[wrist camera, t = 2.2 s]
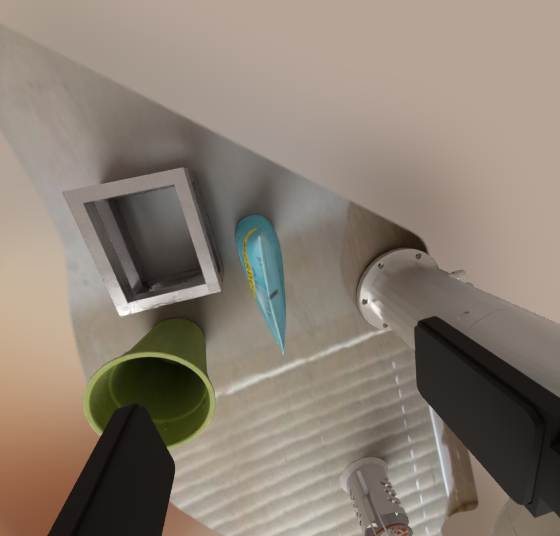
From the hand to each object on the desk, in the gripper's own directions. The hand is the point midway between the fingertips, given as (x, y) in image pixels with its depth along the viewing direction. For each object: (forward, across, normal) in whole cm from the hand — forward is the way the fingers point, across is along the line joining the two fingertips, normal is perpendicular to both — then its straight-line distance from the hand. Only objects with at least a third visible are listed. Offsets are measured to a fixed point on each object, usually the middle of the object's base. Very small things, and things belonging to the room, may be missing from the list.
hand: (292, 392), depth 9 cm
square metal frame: (+25, +10, -3) cm, 27 cm away
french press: (+26, -9, +49) cm, 56 cm away
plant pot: (+26, +13, +11) cm, 31 cm away
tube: (+26, 0, 0) cm, 26 cm away
